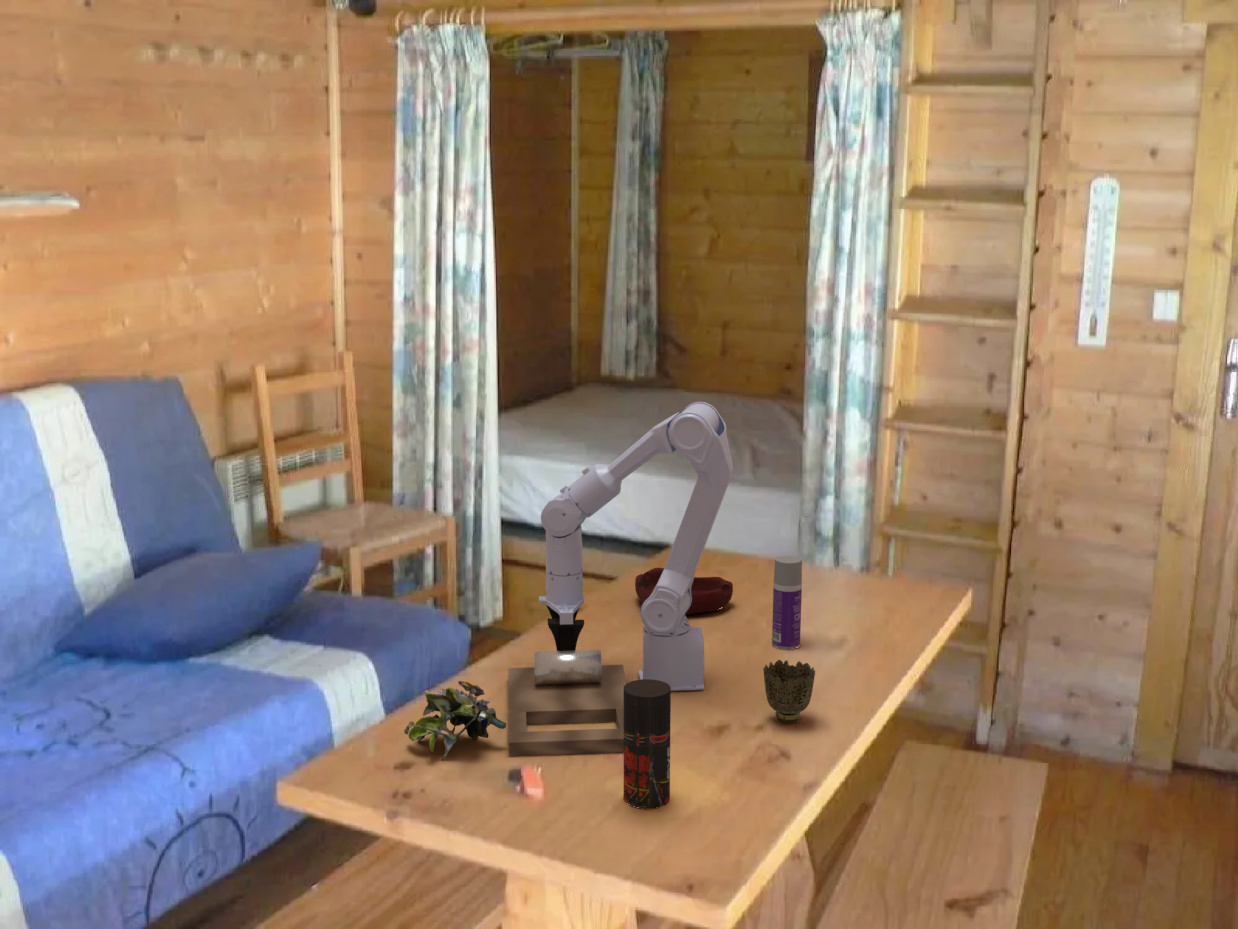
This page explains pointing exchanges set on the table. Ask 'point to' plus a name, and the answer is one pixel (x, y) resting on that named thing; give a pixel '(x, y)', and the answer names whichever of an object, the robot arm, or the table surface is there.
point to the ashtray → (703, 590)
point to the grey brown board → (565, 713)
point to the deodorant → (647, 743)
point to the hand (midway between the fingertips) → (565, 653)
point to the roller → (567, 667)
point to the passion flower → (454, 716)
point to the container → (787, 602)
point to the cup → (788, 689)
